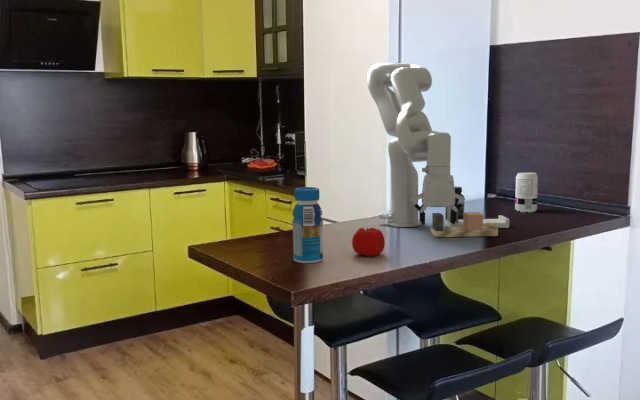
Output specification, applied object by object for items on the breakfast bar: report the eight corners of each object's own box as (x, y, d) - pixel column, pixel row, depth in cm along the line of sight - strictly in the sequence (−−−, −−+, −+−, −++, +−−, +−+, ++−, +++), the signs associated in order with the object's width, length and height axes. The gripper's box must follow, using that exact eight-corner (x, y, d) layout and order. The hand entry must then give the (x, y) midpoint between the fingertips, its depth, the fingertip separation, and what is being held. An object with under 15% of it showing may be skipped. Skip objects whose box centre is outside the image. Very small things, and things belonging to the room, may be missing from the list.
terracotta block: (467, 230, 201) (467, 215, 201) (463, 227, 206) (463, 212, 206) (482, 230, 202) (483, 214, 201) (478, 227, 206) (478, 212, 206)
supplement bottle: (460, 217, 236) (461, 185, 234) (466, 220, 229) (467, 188, 227) (442, 218, 235) (443, 186, 233) (448, 221, 228) (449, 188, 226)
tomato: (375, 250, 184) (375, 225, 183) (389, 256, 176) (389, 230, 175) (346, 253, 181) (346, 227, 180) (359, 260, 173) (359, 233, 172)
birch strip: (435, 237, 200) (435, 216, 199) (430, 232, 208) (430, 212, 207) (497, 235, 200) (498, 215, 199) (490, 231, 208) (490, 211, 207)
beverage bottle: (286, 261, 172) (285, 189, 169) (304, 255, 179) (303, 185, 176) (312, 265, 167) (310, 191, 164) (329, 258, 174) (328, 187, 171)
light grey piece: (450, 228, 213) (451, 209, 212) (445, 224, 221) (445, 205, 220) (509, 227, 214) (509, 208, 213) (501, 223, 221) (502, 204, 220)
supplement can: (510, 210, 250) (511, 172, 248) (528, 208, 253) (529, 171, 251) (523, 213, 243) (524, 174, 240) (541, 211, 245) (542, 173, 243)
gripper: (413, 172, 197) (413, 226, 199) (468, 171, 197) (467, 225, 200) (409, 170, 204) (409, 222, 207) (462, 169, 205) (461, 221, 207)
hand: (437, 223), depth 203 cm, fingers open, 9 cm apart
